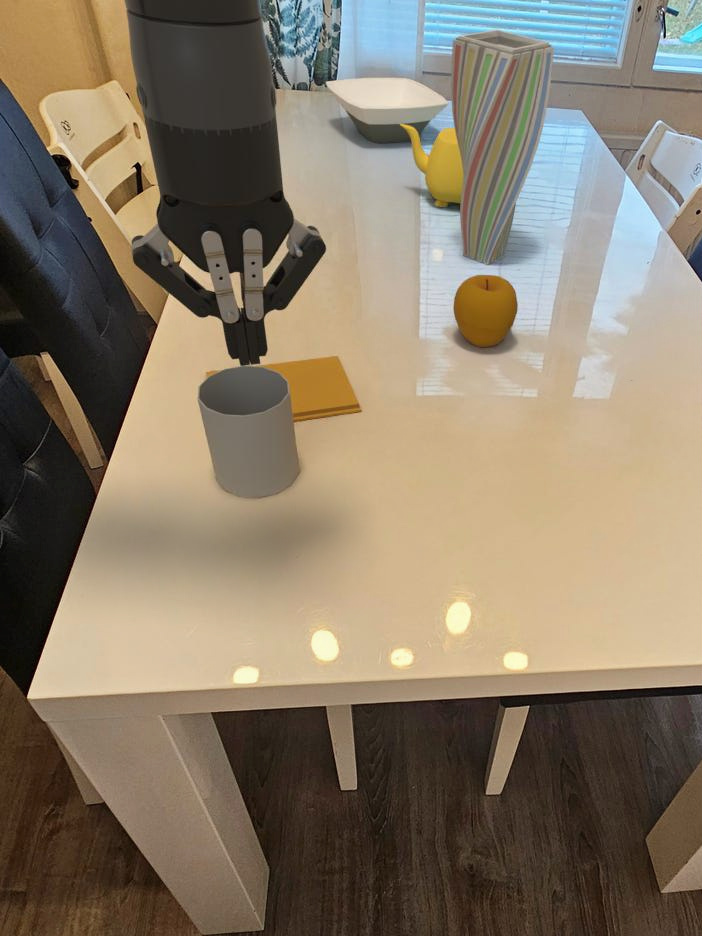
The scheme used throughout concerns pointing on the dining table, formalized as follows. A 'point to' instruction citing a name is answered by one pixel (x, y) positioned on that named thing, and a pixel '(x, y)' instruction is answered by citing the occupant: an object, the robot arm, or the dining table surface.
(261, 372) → the cup
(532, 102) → the vase
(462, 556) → the dining table surface
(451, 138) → the teapot
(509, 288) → the apple
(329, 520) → the dining table surface
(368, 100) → the bowl
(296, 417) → the orange rectangular slab
